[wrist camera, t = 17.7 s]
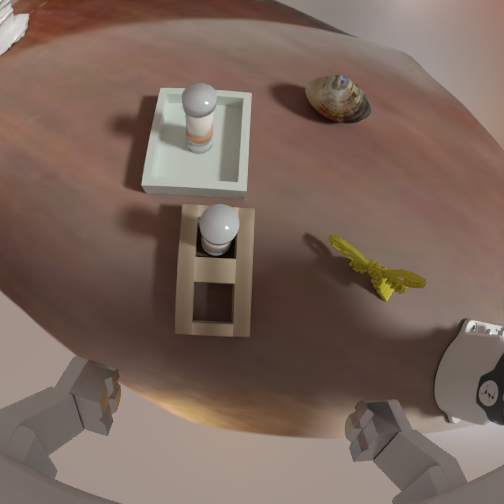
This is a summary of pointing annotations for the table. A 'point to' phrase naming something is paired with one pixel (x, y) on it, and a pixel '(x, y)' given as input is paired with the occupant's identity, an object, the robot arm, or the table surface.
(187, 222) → the fuse block
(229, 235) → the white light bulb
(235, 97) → the tray
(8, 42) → the bust
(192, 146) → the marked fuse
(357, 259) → the decorative insect
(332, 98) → the seashell
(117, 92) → the table surface
